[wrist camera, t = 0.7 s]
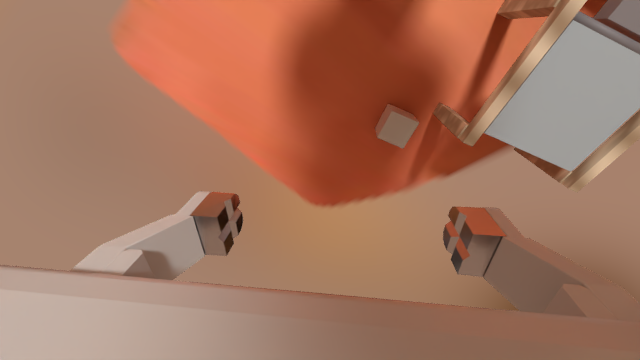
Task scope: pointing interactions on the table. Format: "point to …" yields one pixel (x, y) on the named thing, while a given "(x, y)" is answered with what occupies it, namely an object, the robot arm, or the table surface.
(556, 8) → the frame
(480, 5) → the table surface
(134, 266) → the robot arm
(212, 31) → the table surface
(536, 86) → the trapdoor
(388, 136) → the block
